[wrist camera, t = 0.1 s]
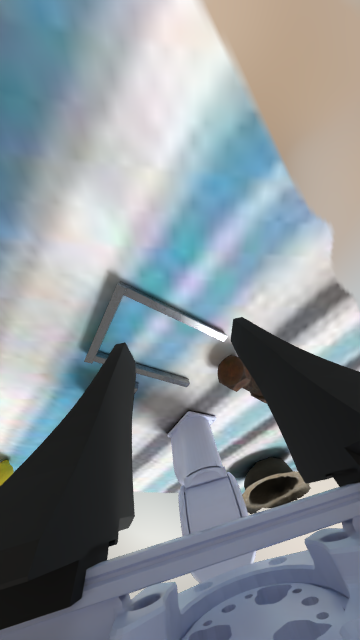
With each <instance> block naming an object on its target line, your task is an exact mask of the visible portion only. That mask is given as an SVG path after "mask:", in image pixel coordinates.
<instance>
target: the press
mask: <svg viewBox="0 0 360 640" xmlns="http://www.w3.org/2000/svg"><path fill="white" fill-rule="evenodd" d="M123 295H125V296H127V297H129V298H131V299H133V300H135V301H137V302H140V303H142V304H144V305H146V306H148V307H150V308H153V309H155V310H157V311H159V312H161V313H163V314H165V315H168V316H170V317H172V318H174V319H176V320H178V321H180V322H183V323H185V324H187V325H189V326H191V327H193V328H196V329H198V330H200V331H202V332H204V333H206V334H208V335H211V336H213V337H215V338H217V339H219V340H221V341H223V342H224V341H225V339H226V338H227V335H226V334H225V333H223V332H221V331H219V330H217V329H215V328H213V327H211V326H209V325H207V324H205V323H203V322H201V321H199V320H197V319H195V318H193V317H191V316H189V315H187V314H185V313H183V312H181V311H179V310H177V309H175V308H173V307H171V306H169V305H167V304H165V303H163V302H161V301H159V300H157V299H155V298H153V297H150V296H148V295H146V294H144V293H142V292H140V291H138V290H136V289H134V288H132V287H130V286H128V285H126V284H124V283H122V282H119V283H118V284H117V286H116V288H115V291H114V293H113V295H112V298H111V300H110V302H109V305H108V307H107V309H106V312H105V314H104V316H103V319H102V321H101V323H100V326H99V328H98V330H97V333H96V335H95V337H94V340H93V342H92V344H91V347H90V349H89V351H88V354H87V356H86V358H85V361H84V362H88V363H93V361H95V362H98V363H102V364H104V363H105V361H106V359H107V358H108V356H109V355H108V354H105V353H101V352H98V350H99V348H100V346H101V344H102V341H103V339H104V337H105V335H106V333H107V330H108V328H109V326H110V324H111V322H112V319H113V317H114V315H115V313H116V311H117V308H118V306H119V304H120V302H121V300H122V297H123ZM135 366H136V373H138V374H141V375H145V376H148V377H152V378H156V379H159V380H163V381H166V382H170V383H173V384H177V385H181V386H184V387H187V386H188V385H189V384H190V383H189V379H187V378H183V377H180V376H177V375H174V374H170V373H167V372H164V371H161V370H157V369H154V368H151V367H147V366H144V365H141V364H138V363H135ZM137 389H138V383H137V382H135V391H134V394H135V392H136V391H137Z"/></svg>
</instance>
